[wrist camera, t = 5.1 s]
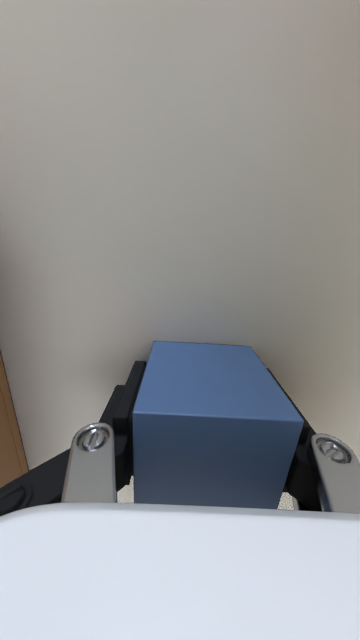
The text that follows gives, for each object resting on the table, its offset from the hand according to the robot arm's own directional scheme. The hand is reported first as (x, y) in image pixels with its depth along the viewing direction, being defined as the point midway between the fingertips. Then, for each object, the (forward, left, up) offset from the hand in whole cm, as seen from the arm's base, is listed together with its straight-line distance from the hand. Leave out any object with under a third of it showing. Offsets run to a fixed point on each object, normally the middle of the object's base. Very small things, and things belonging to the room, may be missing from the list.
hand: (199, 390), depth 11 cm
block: (0, 0, 0) cm, 0 cm away
